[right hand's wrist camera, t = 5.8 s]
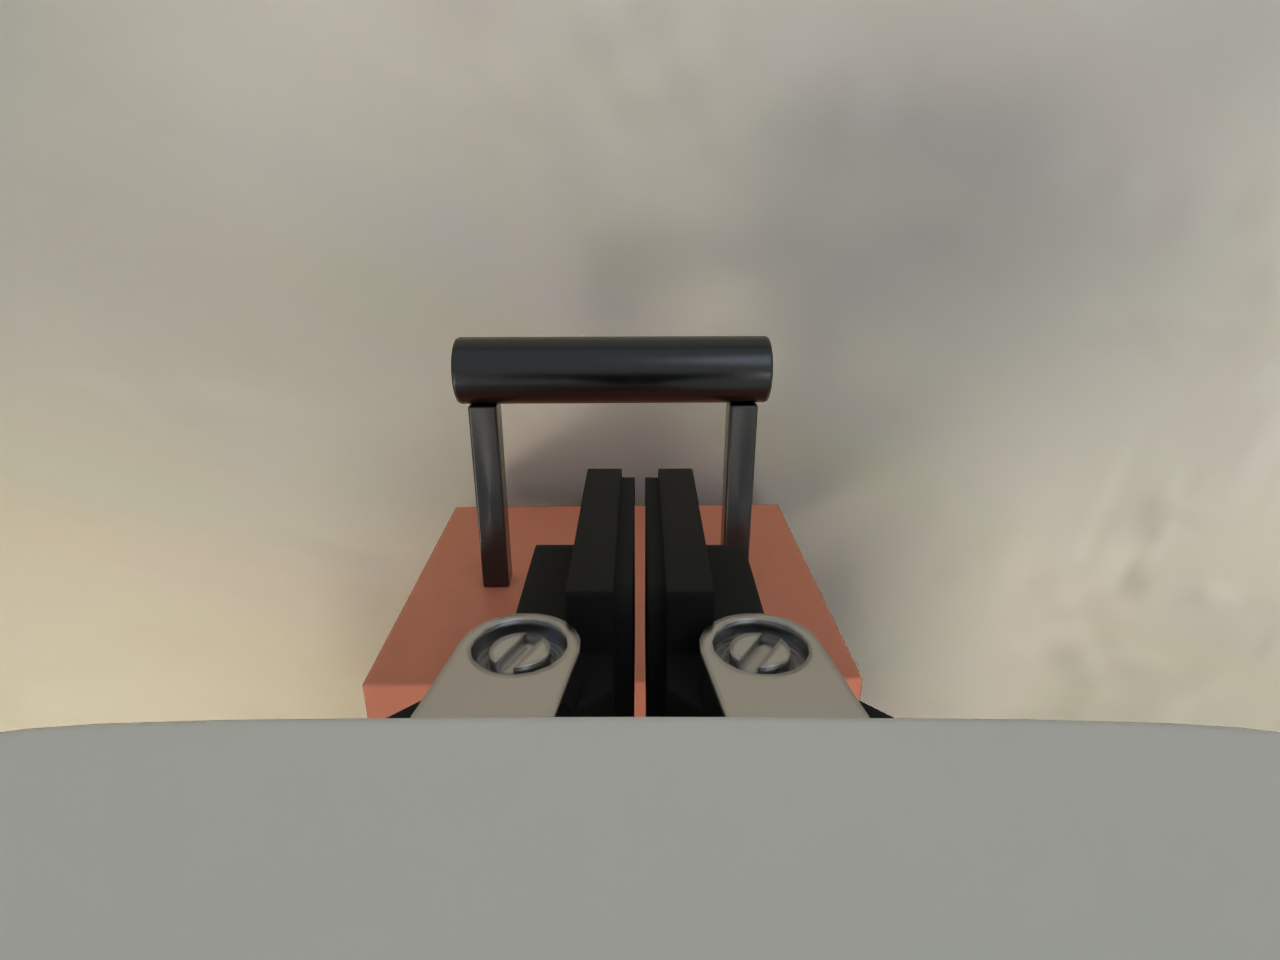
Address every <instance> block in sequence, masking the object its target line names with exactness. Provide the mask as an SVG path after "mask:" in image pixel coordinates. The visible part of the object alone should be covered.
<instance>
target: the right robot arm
mask: <svg viewBox="0 0 1280 960" xmlns="http://www.w3.org/2000/svg"><path fill="white" fill-rule="evenodd" d="M634 692H635V478H622V470H621V469H588V471H587V476H586V482H585V487H584V492H583V498H582V503H581V509H580V514H579V520H578V525H577V530H576V536H575V541H574V545H536V547H535V549H534V553H533V556H532V559H531V563H530V566H529V570H528V573H527V577H526V580H525V584H524V587H523V590H522V594H521V597H520V601H519V604H518V608H517V611H516V614H511V615H505V616H500V617H497V618H494V619H492V620H489V621H486V622H484V623H482V624H480V625H479V626H477V627H475V628H474V629H472V630H470V631H469V632H468V634H467V635H466V636H465V637H464V638H463V639H462V640H461V641H460V643H459V644H458V646H457V647H456V649H455V650H454V652H453V653H452V655H451V656H450V658H449V659H448V661H447V662H446V664H445V665H444V667H443V668H442V670H441V671H440V673H439V675H438V676H437V678H436V679H435V681H434V682H433V684H432V685H431V687H430V688H429V690H428V691H427V693H426V694H425V696H424V697H423V699H422V700H421V701H419V702H417V703H415V704H413V705H411V706H409V707H407V708H405V709H403V710H401V711H399V712H397V713H395V714H393V715H391V716H389V717H387V718H366V719H272V720H208V721H175V722H143V723H110V724H89V725H75V726H61V727H47V728H32V729H22V730H15V731H7V732H0V960H1280V732H1273V731H1264V730H1256V729H1247V728H1236V727H1220V726H1204V725H1188V724H1172V723H1140V722H1103V721H1065V720H1028V719H912V718H893V717H891V716H889V715H887V714H885V713H883V712H881V711H879V710H877V709H875V708H873V707H871V706H869V705H867V704H865V703H863V702H861V701H859V700H858V699H857V697H856V696H855V694H854V693H853V691H852V690H851V688H850V687H849V685H848V684H847V682H846V681H845V679H844V678H843V676H842V675H841V673H840V671H839V670H838V668H837V667H836V665H835V664H834V662H833V661H832V659H831V658H830V656H829V655H828V653H827V652H826V650H825V649H824V647H823V646H822V644H821V643H820V641H819V640H818V639H817V638H816V637H815V636H814V635H813V634H812V632H811V631H810V630H808V629H806V628H805V627H803V626H801V625H800V624H798V623H796V622H794V621H791V620H788V619H786V618H783V617H780V616H775V615H769V614H764V611H763V608H762V604H761V601H760V597H759V594H758V590H757V587H756V584H755V580H754V577H753V573H752V570H751V566H750V563H749V559H748V556H747V553H746V549H745V547H744V545H706V541H705V536H704V530H703V525H702V520H701V514H700V509H699V503H698V498H697V492H696V487H695V482H694V476H693V471H692V469H659V470H658V478H645V692H646V717H634Z"/></svg>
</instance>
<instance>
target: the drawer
mask: <svg viewBox="0 0 1280 960" xmlns="http://www.w3.org/2000/svg"><path fill="white" fill-rule="evenodd" d="M451 376H452V385H453V390H454V394H455V397H456V399H457V401H458V402H459V403H461V404H470V405H469V407H468V412H469V424H470V436H471V447H472V459H473V471H474V482H475V494H476V506H477V507H457V508H456V509H455V511H454V512H453V514H452V516H451V518H450V520H449V522H448V524H447V526H446V528H445V530H444V531H443V533H442V535H441V537H440V539H439V541H438V543H437V545H436V547H435V548H434V550H433V552H432V554H431V556H430V558H429V560H428V562H427V564H426V566H425V567H424V569H423V571H422V573H421V575H420V577H419V579H418V581H417V583H416V585H415V586H414V588H413V590H412V592H411V594H410V596H409V598H408V600H407V602H406V603H405V605H404V607H403V609H402V611H401V613H400V615H399V617H398V619H397V621H396V622H395V624H394V626H393V628H392V630H391V632H390V634H389V636H388V638H387V640H386V641H385V643H384V645H383V647H382V649H381V651H380V653H379V655H378V657H377V658H376V660H375V662H374V664H373V666H372V668H371V670H370V672H369V674H368V676H367V677H366V679H365V681H364V683H363V691H364V697H365V704H366V710H367V716H368V718H387V717H389V716H391V715H393V714H395V713H397V712H399V711H401V710H403V709H405V708H407V707H409V706H411V705H413V704H415V703H417V702H419V701H421V700H422V699H423V697H424V696H425V694H426V693H427V691H428V690H429V688H430V687H431V685H432V684H433V682H434V681H435V679H436V678H437V676H438V675H439V673H440V671H441V670H442V668H443V667H444V665H445V664H446V662H447V661H448V659H449V658H450V656H451V655H452V653H453V652H454V650H455V649H456V647H457V646H458V644H459V643H460V641H461V640H462V639H463V638H464V637H465V636H466V635H467V634H468V632H469V631H470V630H472V629H474V628H475V627H477V626H479V625H480V624H482V623H484V622H486V621H489V620H492V619H494V618H497V617H500V616H505V615H511V614H516V611H517V608H518V604H519V601H520V597H521V594H522V590H523V587H524V584H525V580H526V577H527V573H528V570H529V566H530V563H531V559H532V556H533V553H534V549H535V547H536V545H574V541H575V536H576V530H577V525H578V520H579V514H580V509H581V506H543V507H508V503H507V489H506V474H505V460H504V445H503V431H502V417H501V404H528V403H713V402H727V403H726V426H725V450H724V473H723V496H722V505H699V509H700V514H701V520H702V525H703V530H704V536H705V541H706V545H744V547H745V549H746V553H747V556H748V559H749V563H750V566H751V570H752V573H753V577H754V580H755V584H756V587H757V590H758V594H759V597H760V601H761V604H762V608H763V611H764V614H769V615H775V616H780V617H783V618H786V619H788V620H791V621H794V622H796V623H798V624H800V625H801V626H803V627H805V628H806V629H808V630H810V631H811V632H812V634H813V635H814V636H815V637H816V638H817V639H818V640H819V641H820V643H821V644H822V646H823V647H824V649H825V650H826V652H827V653H828V655H829V656H830V658H831V659H832V661H833V662H834V664H835V665H836V667H837V668H838V670H839V671H840V673H841V675H842V676H843V678H844V679H845V681H846V682H847V684H848V685H849V687H850V688H851V690H852V691H853V693H854V694H855V696H856V697H857V699H858V700H859V701H860V694H861V686H862V677H861V675H860V673H859V671H858V669H857V667H856V665H855V663H854V661H853V659H852V657H851V655H850V653H849V651H848V648H847V646H846V644H845V642H844V640H843V638H842V636H841V634H840V632H839V630H838V628H837V626H836V624H835V622H834V620H833V618H832V616H831V614H830V611H829V609H828V607H827V605H826V603H825V601H824V599H823V597H822V595H821V593H820V591H819V589H818V587H817V585H816V583H815V581H814V579H813V576H812V574H811V572H810V570H809V568H808V566H807V564H806V562H805V560H804V558H803V556H802V554H801V552H800V550H799V548H798V546H797V544H796V542H795V539H794V537H793V535H792V533H791V531H790V529H789V527H788V525H787V523H786V521H785V519H784V517H783V515H782V513H781V511H780V509H779V507H778V505H752V496H753V479H754V462H755V445H756V428H757V411H758V406H757V404H756V403H755V402H765V401H767V400H768V398H769V395H770V392H771V387H772V379H773V354H772V347H771V343H770V340H769V338H768V337H766V336H655V337H459V338H457V339H456V340H455V341H454V344H453V348H452V355H451ZM634 717H646V692H645V506H635V692H634Z"/></svg>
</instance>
